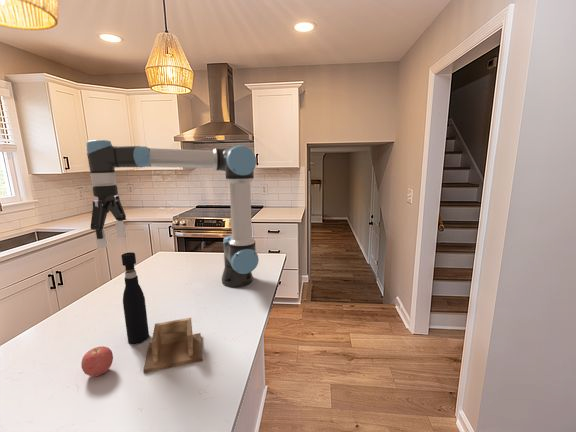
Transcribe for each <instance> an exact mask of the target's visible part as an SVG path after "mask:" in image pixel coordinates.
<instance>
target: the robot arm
mask: <svg viewBox="0 0 576 432" xmlns="http://www.w3.org/2000/svg"><path fill="white" fill-rule="evenodd" d="M86 155H87V159H88V167H89V172H90V180H91V184H92V185H93V186H91V187H92V195H93V196H94V197H97V200H92V212H91V218H90V219H91V221H90V230H92V231H95V235H96V241H97V248H99V249H101V248H104V249H105V248H108V241H107V233H106V229H105V228H104V226H105V223H106V218H107V216H108V213H111V214H112V217H114V218H115V221H114V222H115V229H116V238H125V237H126V233H125V232H126V230H125V224H124V223H125V222H124V221H126V220H127V216H126V213H125V210H124V207H123V205H122V202H121V199H120V196H119V195H118V194H119V191H118V185H116V184H117V175H116V171H115V169H116V168H148V167H151V168H153V167H156V168H159V167H160V168H192V169H195V168H197V169H200V168H201V169H213V170H214V171H221V172H222V171H223V172H225V181H227V182H228V183H229V199H230V222H231V223H230V225H231V235H228V236H225V237H224V238H223V242H222V245H223V261H224V269H223V272H222V275H221V284H222V285H223V286H225V287H228V288H229V287H230V288H239V287H245V286H248V285H250V284H251V283H252V282H253V281H254V278H253V277H254V275H253V273H252V272H253V271H254V270H255V269H256V268H257V266H258V265H259V255H258V253H257V249H256V240H255V239H254V238H253V236H252V235H253V233H252V232H253V231H252V229H253V228H252V227H253V226H252V198H251V196H252V195H251V193H252V191H251V190H252V189H251V183H252V181H254V179H255V178H254V177H255V175H254V171H255V169H256V166H257V157H256V154H255V152H254V151H253V150H252V149H251V148H249V146H245V145H241V144H238V145H234V146H231V147H230V146H229V147H225V148H216V147H215V148H213V149H212V150H203V149H179V148H155V147H154V148H153V147H147V146H145V145H144V146H142V145H137V146H136V145H133V146H132V145H127V146H117V145H116V146H115V145H113V144H112V142H111V141H110V140H105V139H104V140H103V139H102V140H101V139H92V140H88V141H86Z"/></svg>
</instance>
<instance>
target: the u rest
mask: <svg viewBox="0 0 576 432" xmlns="http://www.w3.org/2000/svg"><path fill="white" fill-rule="evenodd" d="M192 324H193V322H192V317H188V318H187V317H186V318H181V319H175V320H169V321H163V322H158V323H156V322H155V323H154V327H153V333H152V336H151V341H150V342H149V343H148V346H147V351H146V356H145V360H144V365H143V370H142V371H143V374H148V373H153V372H156V371H161V370H165V369H166V370H167V369H171V368H174V367H175V368H177V367H178V366H185V365H189V364H194V363H198V362H202V361H203V352H202V351H203V350H202V348H203V347H202V335H201V334H202V333H201V332H199V333H193V325H192Z"/></svg>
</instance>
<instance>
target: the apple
mask: <svg viewBox="0 0 576 432" xmlns="http://www.w3.org/2000/svg"><path fill="white" fill-rule="evenodd" d="M113 361H114V355H113V351H112V350H111V348H109V347H107V346H101V345H100V346H97V347H93V348H91V349H90V350H88V351H87V352H86V353H85V354H84V355H83V357H82V358H81V362H80V363H81V364H80V365H81V370H82V371H83V373H84V375H87V376H89V377H99V376H102V375H103V374H105V373H107V371H108V370H109V369H110V368H111V366H112V364H113Z"/></svg>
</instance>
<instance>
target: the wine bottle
mask: <svg viewBox="0 0 576 432" xmlns="http://www.w3.org/2000/svg"><path fill="white" fill-rule="evenodd" d="M120 256H121V261H122V262H121V263H122V264H121V265H122V266H123V267H125V270H124V271H125V272H124V285H125V286H124V290H123V295H122V305H123V313H124V321H125V328H126V338H127V343H128V344H129V345H139V344H142V343H145V342H146V341H147V340H148V339H149V338H150V332H149V324H148V316H147V315H148V313H147V306H146V298H145V294H144V292H143V289H142V287H141V285H140V284H139V277H138V275H137V271H136V268H135V265H136V264H137V257H136V253H135V252H132V251H131V252H126V253H125V252H124V253H122V254H121V255H120Z"/></svg>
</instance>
